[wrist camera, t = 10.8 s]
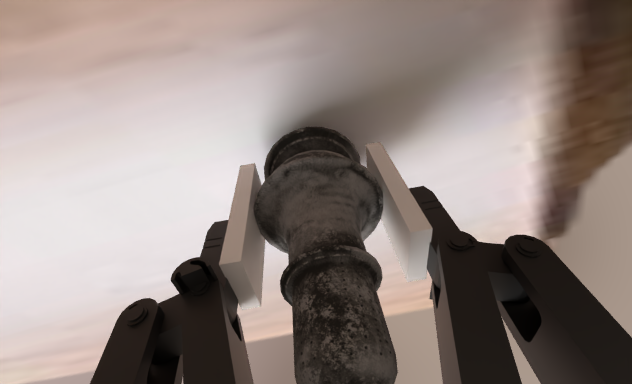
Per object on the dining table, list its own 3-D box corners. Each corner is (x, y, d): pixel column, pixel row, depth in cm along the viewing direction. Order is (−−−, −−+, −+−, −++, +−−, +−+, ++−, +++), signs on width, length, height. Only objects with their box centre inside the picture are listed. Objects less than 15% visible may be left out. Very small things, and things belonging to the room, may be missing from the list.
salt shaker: (366, 114, 15) (538, 382, 5) (365, 206, 18) (463, 471, 8) (247, 128, 14) (179, 435, 5) (269, 219, 18) (255, 503, 8)
